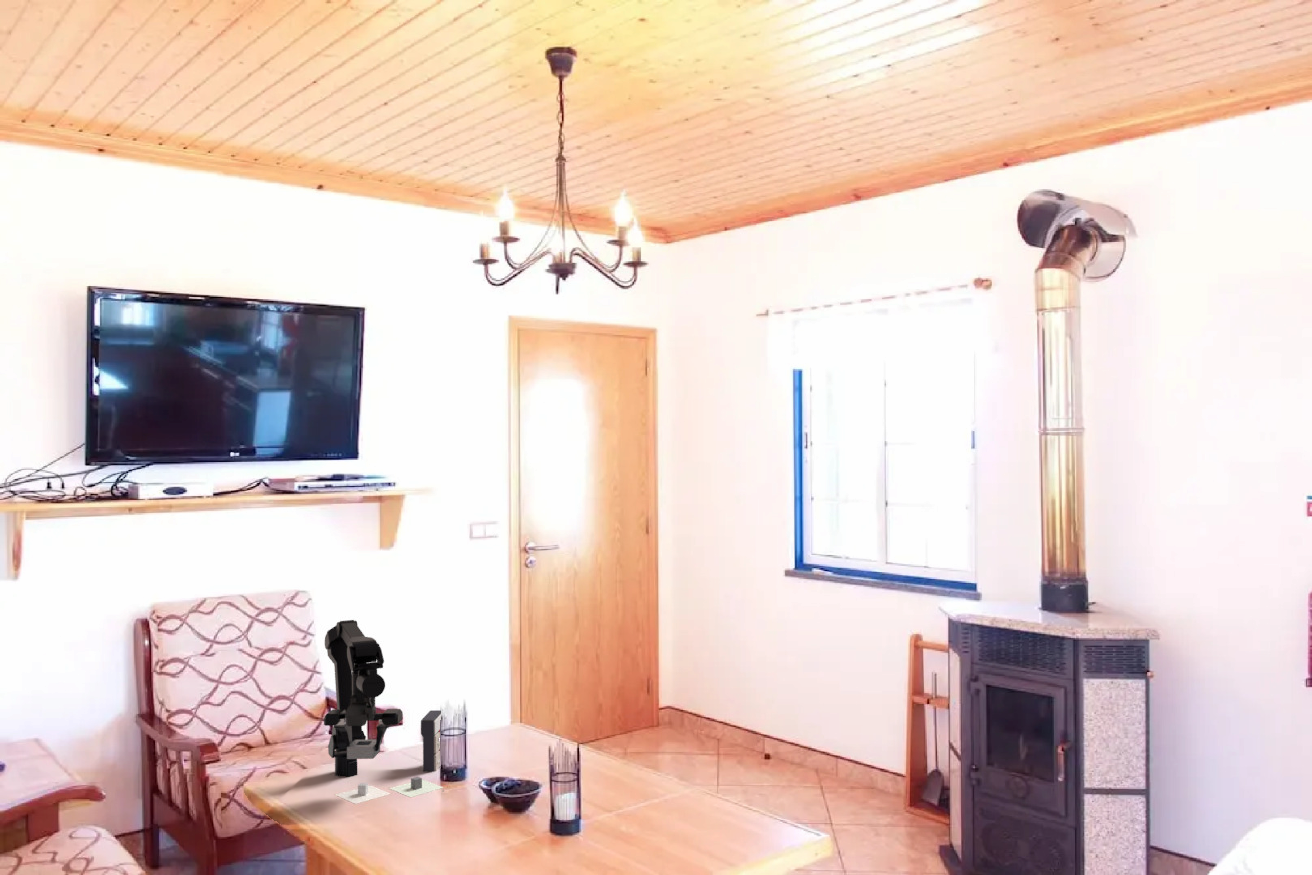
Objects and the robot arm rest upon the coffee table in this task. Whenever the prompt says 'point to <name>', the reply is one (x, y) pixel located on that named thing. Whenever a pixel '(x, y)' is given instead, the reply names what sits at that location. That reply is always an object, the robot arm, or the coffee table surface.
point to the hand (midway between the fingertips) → (363, 750)
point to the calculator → (431, 740)
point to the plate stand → (362, 793)
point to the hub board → (416, 792)
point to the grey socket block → (362, 749)
